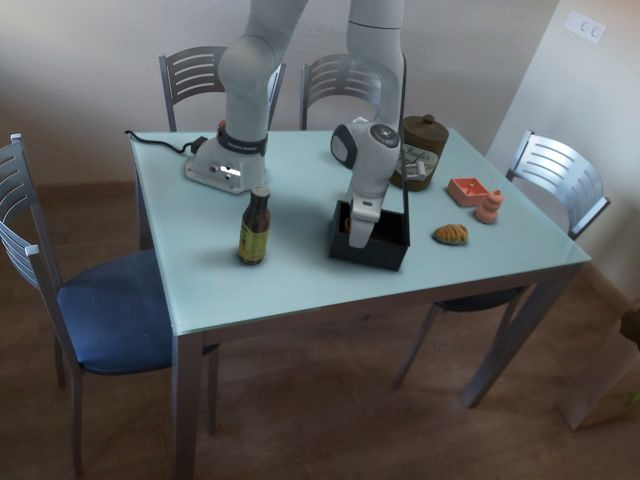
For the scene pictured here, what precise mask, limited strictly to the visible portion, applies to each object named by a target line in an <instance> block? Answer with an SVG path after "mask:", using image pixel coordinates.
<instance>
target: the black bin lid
mask: <svg viewBox="0 0 640 480" xmlns="http://www.w3.org/2000/svg"><path fill="white" fill-rule="evenodd" d="M411 168H416V169H417V175H407V171H406V169H411ZM401 169H402V188H401V189H402V205H403V206H402V207H403V214H404V221H405V232H406V242H407V247H408V248H410V247H411V229H410V205H409V202H410V201H409V190H408V180H409V179H419V180H420V181H424V180H425V179H426V173H425V167H424V163H423V162H422V161H419V162H417V163H416V164H411V165H406V162H405V153H404V149H401Z"/></svg>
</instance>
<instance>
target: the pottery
mask: <svg viewBox="0 0 640 480" xmlns="http://www.w3.org/2000/svg"><path fill="white" fill-rule="evenodd" d="M445 190H446V192H448V194H449V195H450V196H451V197H452V198H453V199H454V200H455V202H457V204H458V205H459V206H460V208H463V207H464V208H465V207H476V208H475V210H474V211H475V212H474V217H475V218H476V219H477V220H478V221H479V222H481V223H483V224H489V225H490V224H493V223H494V222H495V221H496V220H497V219H498V216H499V210H500V208H501V207H502V202H504V199H505V198H504V196H503V195H502V191H501V190H500V189H496V190H490V191H489V190H488V189H487V188H486V186H484V185H483V184H482V183H481V182H480V181H479V180H478V178H476V177H475V176H473V177H472V176H470V177H451V178H450V180H449V182H448V184H447V187H446V188H445Z"/></svg>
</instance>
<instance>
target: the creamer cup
mask: <svg viewBox="0 0 640 480" xmlns="http://www.w3.org/2000/svg"><path fill="white" fill-rule="evenodd" d="M342 233H346V234H349V233H350V218H348V219H346V221H345V224H344V227H343V230H342Z"/></svg>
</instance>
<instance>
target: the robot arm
mask: <svg viewBox="0 0 640 480" xmlns="http://www.w3.org/2000/svg"><path fill="white" fill-rule="evenodd" d="M309 1H310V0H250V4H249V6H250V9H249V13H248V18H247V22H246V26H245V27H244V30H243V32H242V34H241V35H240V36H239V38H238V39H237V40H236V41H235V42H233V43H232V44H231V45H230V46H228V47H227V48H226V49H225V51H224V53H223V54H222V56H221V58H220V60H219V63H218V65H217V76H218V79H219V81H220V83H221V84H222V87H224V93H225V100H226V101H225V102H226V103H225V105H226V106H225V107H226V109H225V119H221V120H220V121H219V123H218V128H217V129H216V135H215V136H214V137H212V138H210V139H209V138H208V137H205V136H203V135H201V136H199V137H198V138H197V139H195V140H194V141H190V142H189V141H188V142H186V143H184V144H183V145H182V148H181V149H177V148H176V147H175V146H174V145H172V144H170V143H169V142H166V141H163V140H153V139H152V140H151V139H143V138H141V137H139V136H138V135H137V134H136V133H135V132H134V131H133V130H130V129H126V130H125V131H123V134H126V135H128V134H130V135H131V136H132V137H133V138H134V139H135V140H136V141H138V142H141V143H144V144H151V145H152V144H153V145H162V146H166V147H168V148H170V150H172V151H174V152H175V153H177V154H184V153H185V152H186V150H187V148H188V147H189V146H190V154H192V155H191V156H190V158H189V159H188V161H187V162H186V165H185V169H184V174H185V177H186V178H187V179H189V180H191V181H195V182H196V183H200V184H203V185H206V186H209V187H212V188H214V189H218V190H221V191H224V192H227V193H230V194H232V195H239V194H242V193H243V192H246V191H251V188H252V187H253V186H255V185H265V184H266V182H267V178H268V176H267V172H266V153H267V151H268V145H269V144H268V143H269V132H268V129H269V121H270V113H271V105H270V103H269V96H268V95H269V94H268V93H269V92H268V89H269V88H268V87H269V83H270V80H271V79H272V78H271V77H272V76H273V75H274V73H275V72H276V71H277V70H278V68H280V66H281V64H282V61H283V60H284V57H285V55H286V53H287V51H288V48H289V47H290V46H289V45H290V43H291V40H292V38H293V35H294V33H295V30H296V27H297V25H298V23H299V21H300V19H301V17H302V15H303V13H304V11H305V9H306V6H307V5H308V3H309ZM405 5H406V0H350V4H349V11H348V17H347V24H346V25H347V26H346V31H345V47H346V50H347V52H348V54H349V56H350V57H351V59H352V60H353V61H354V63H356V64H357V65H358V66H360V67H362V68H363V69H365V70H367V71H369V72H371V73H374V74H375V75H376V76H377V77H378V79H379V81H380V100H379V101H380V102H379V103H380V104H379V114H378V116H377V118H376V119H374V120H368V121H366V122H353V121H351V122H345V123H340V124H339V125H337V126H336V127H335V129H334V130H333V132H332V134H331V137H330V138H331V139H330V146H329V148H330V153H331V155H332V157H333V158H334V159H335V160H336V161H337V162H338V163H339V164H341V165H342V166H343V167H344V168H345V169H347V170H349V171H350V170H351V172H352V175H351V177H350V181H349V183H348V187H347V190H346V197H347V198H346V199H347V201H348V202H349V204H350V213H351V214H350V233H349V245H350V246H352V247H356V248H364V247H365V245H366V243H367V241H368V239H369V237H370V235H371V232H372V230H373V227H374V224H375V222H378V221H379V218H380V214H381V209H382V208H383V204H384V201H385V197H386V195H387V192H388V190H389V184H390V183H389V182H390V181H389V179H390V177H391V176H392V175H393V173H394V170H395V167H396V164H397V161H398V157H399V153H400V152H401V149H402V148H403V144H404V131H403V119H404V115H405V114H404V113H405V103H406V102H405V101H406V100H405V99H406V90H407V88H406V87H407V75H408V73H407V72H408V65H407V59H406V56H405V54H404V53H403V51H402V48H401V32H402V26H403V21H404V14H405V13H404V12H405Z"/></svg>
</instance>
